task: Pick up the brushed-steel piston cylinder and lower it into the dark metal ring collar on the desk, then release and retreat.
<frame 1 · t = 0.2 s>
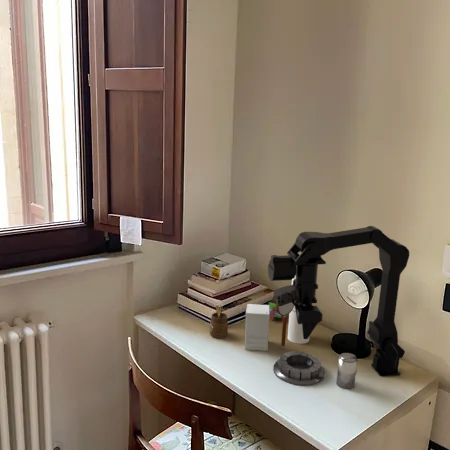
hand: (302, 331, 144), 14 cm above the table, fingers open, 9 cm apart
magnifying glass: (282, 348, 163), on the table
geometric puzzle: (274, 318, 185), on the table
ring collar: (299, 371, 150), on the table
piston: (345, 384, 144), on the table
utensil holder: (218, 335, 171), on the table
cylindrical container: (298, 339, 170), on the table
supplement box: (256, 345, 165), on the table
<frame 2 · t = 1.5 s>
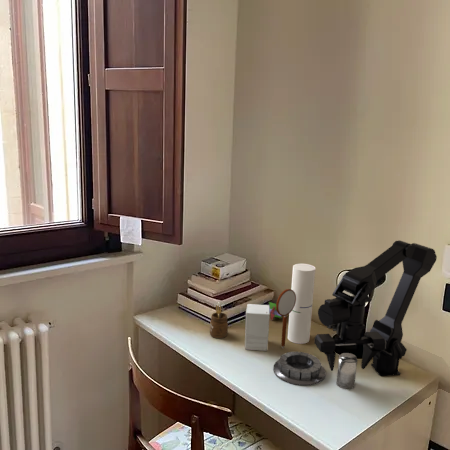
hand: (347, 369, 143), 5 cm above the table, fingers open, 9 cm apart
nothing on the table moved.
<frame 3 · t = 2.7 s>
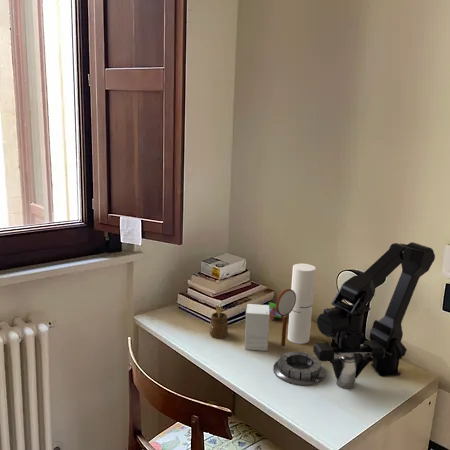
hand: (346, 377, 144), 2 cm above the table, fingers closed on piston, 5 cm apart
piston: (345, 384, 144), on the table, touching gripper
everything else where it was.
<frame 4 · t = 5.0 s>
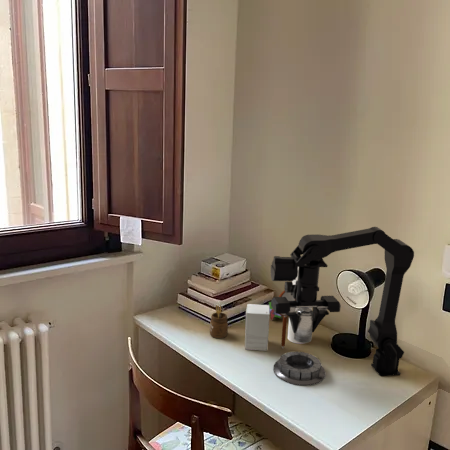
hand: (303, 332, 147), 13 cm above the table, fingers closed on piston, 5 cm apart
piston: (302, 338, 147), point 11 cm above the table, touching gripper
everything else where it was.
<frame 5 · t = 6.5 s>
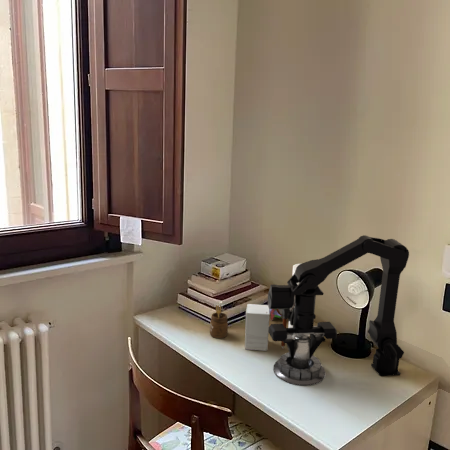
hand: (300, 358, 149), 4 cm above the table, fingers closed on piston, 5 cm apart
piston: (300, 364, 150), point 2 cm above the table, touching gripper
everything else where it was.
when the fingers open (4 cm above the table, at t = 7.4 s): piston drops 1 cm, resting on ring collar.
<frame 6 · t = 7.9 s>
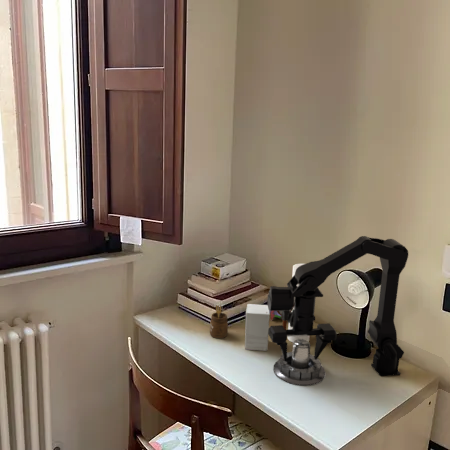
hand: (300, 359, 149), 4 cm above the table, fingers open, 9 cm apart
piston: (299, 369, 150), point 1 cm above the table, touching ring collar
everything else where it was.
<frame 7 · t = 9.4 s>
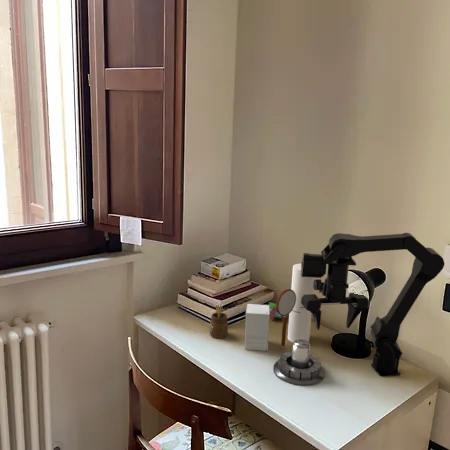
hand: (332, 328, 151), 12 cm above the table, fingers open, 9 cm apart
nothing on the table moved.
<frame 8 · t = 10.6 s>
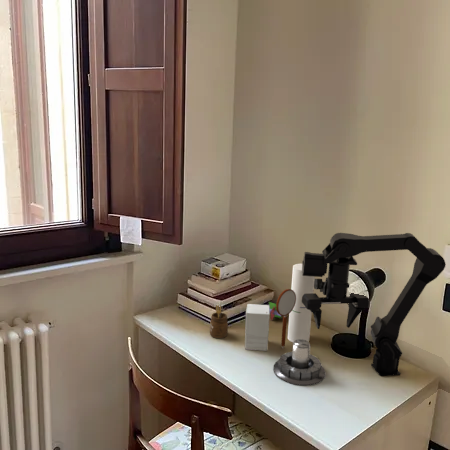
hand: (333, 327, 151), 13 cm above the table, fingers open, 9 cm apart
nothing on the table moved.
at the end: piston 0.1 cm from the ring collar (horizontally); piston point 0.6 cm above the table; piston tilted 0° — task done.
